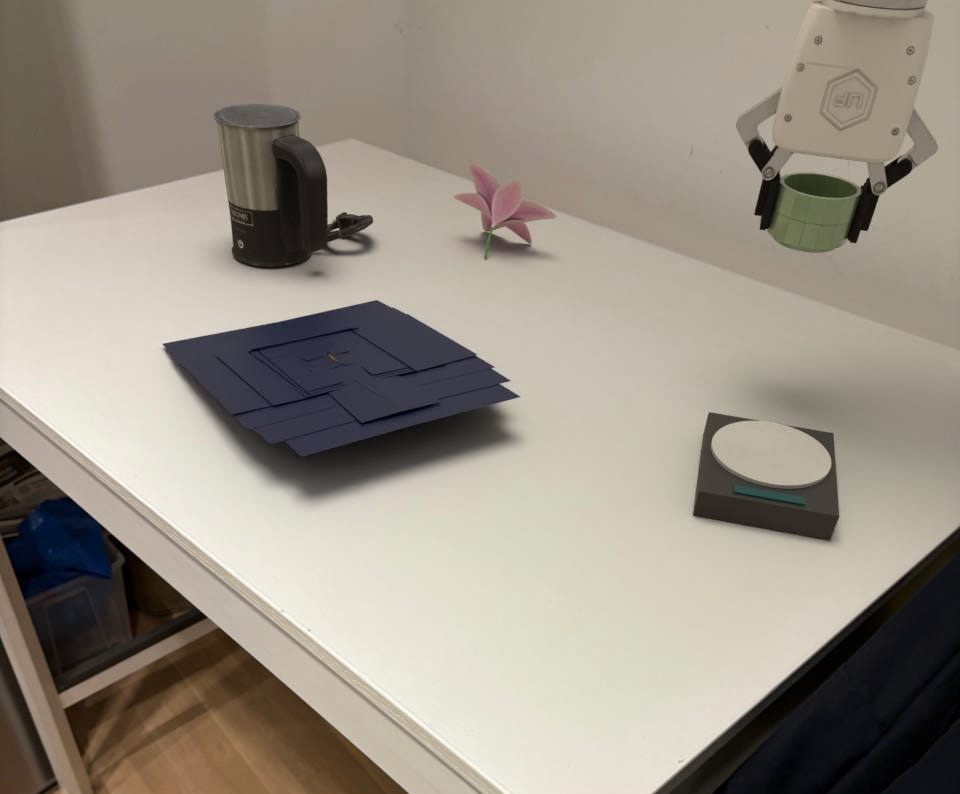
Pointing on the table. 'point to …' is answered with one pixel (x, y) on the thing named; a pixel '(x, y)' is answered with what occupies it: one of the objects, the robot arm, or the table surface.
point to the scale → (768, 476)
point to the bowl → (813, 211)
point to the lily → (502, 204)
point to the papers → (339, 375)
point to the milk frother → (276, 187)
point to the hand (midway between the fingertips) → (807, 229)
